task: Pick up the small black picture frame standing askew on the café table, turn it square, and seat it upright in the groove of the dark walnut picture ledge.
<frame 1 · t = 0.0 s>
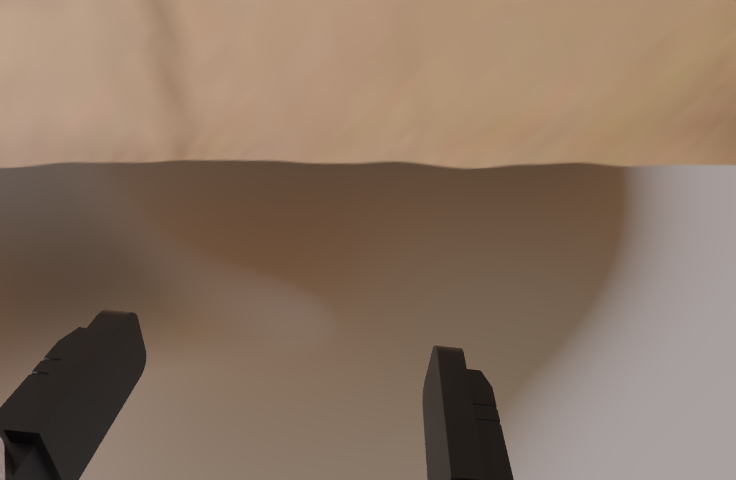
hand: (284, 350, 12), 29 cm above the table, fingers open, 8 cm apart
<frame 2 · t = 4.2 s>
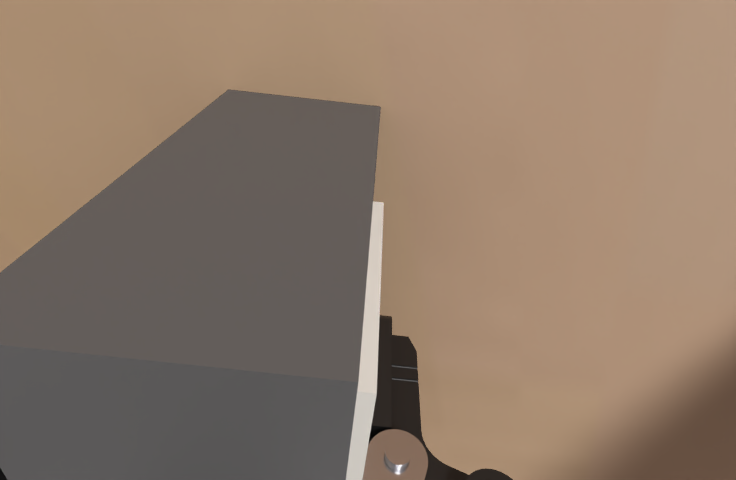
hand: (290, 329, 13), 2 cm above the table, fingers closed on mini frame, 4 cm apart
mini frame: (300, 279, 15), on the table, touching gripper
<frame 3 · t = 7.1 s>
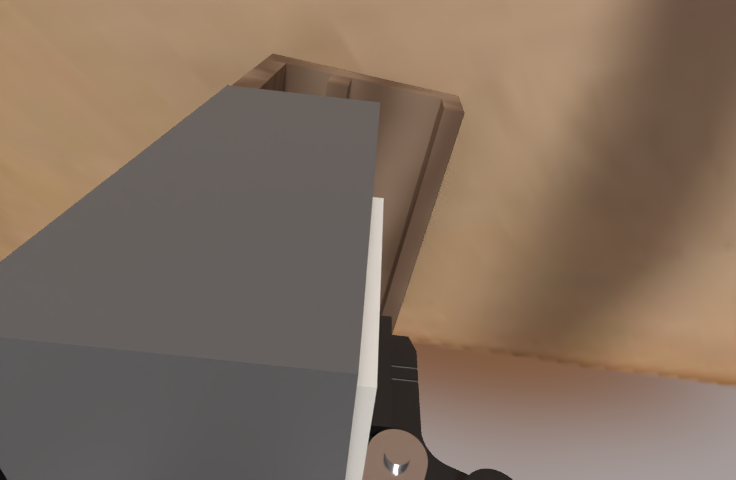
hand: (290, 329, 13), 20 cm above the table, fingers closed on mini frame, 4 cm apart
mini frame: (300, 276, 15), point 18 cm above the table, touching gripper
picture ledge: (342, 198, 33), on the table
when the fingers open (5 cm above the table, at t = 10.2 s): mini frame stays where it is, resting on picture ledge.
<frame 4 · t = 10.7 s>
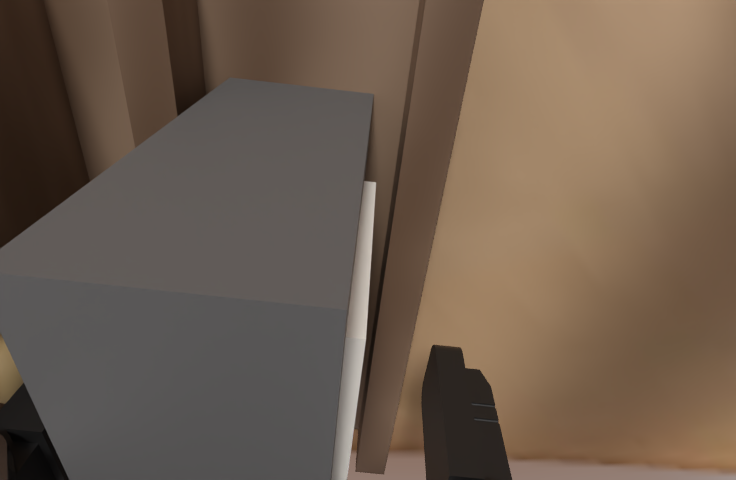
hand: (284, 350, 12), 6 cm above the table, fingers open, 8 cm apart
mini frame: (298, 261, 16), point 1 cm above the table, touching picture ledge
picture ledge: (255, 235, 17), on the table
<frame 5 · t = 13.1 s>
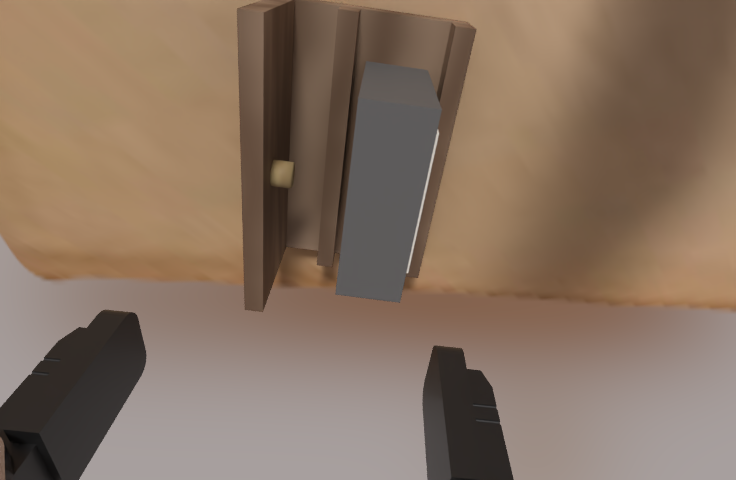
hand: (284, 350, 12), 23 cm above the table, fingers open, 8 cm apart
mini frame: (383, 153, 32), point 1 cm above the table, touching picture ledge
picture ledge: (358, 143, 33), on the table
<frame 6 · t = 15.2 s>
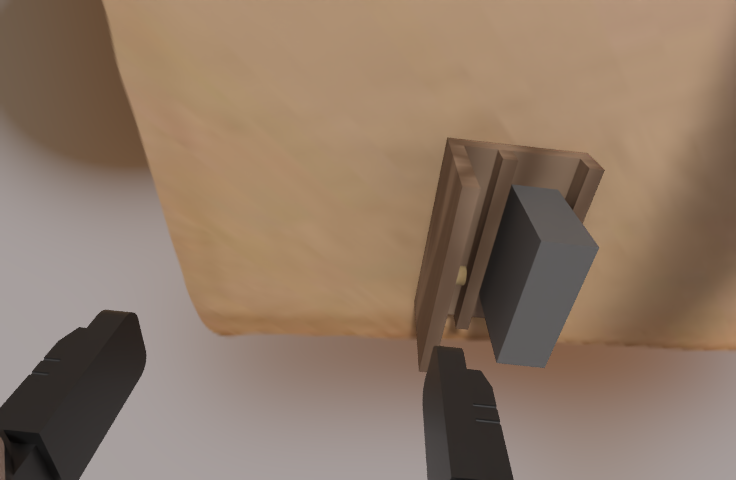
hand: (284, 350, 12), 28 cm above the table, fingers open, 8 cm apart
mini frame: (515, 245, 41), point 1 cm above the table, touching picture ledge
picture ledge: (491, 235, 43), on the table
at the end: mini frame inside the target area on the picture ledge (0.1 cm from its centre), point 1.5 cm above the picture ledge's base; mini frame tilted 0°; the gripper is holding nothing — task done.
